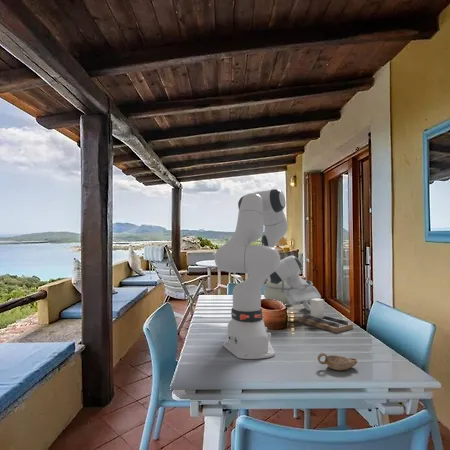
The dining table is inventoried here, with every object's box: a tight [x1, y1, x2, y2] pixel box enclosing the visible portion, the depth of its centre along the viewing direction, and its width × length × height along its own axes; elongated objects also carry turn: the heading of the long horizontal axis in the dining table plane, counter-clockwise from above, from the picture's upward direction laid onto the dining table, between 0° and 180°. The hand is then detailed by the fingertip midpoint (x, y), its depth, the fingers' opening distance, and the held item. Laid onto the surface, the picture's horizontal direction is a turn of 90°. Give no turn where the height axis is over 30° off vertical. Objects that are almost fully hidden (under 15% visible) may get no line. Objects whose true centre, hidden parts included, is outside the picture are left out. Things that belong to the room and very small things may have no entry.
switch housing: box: [298, 313, 354, 334], centre depth 164 cm, size 22×12×4 cm, turn 36°
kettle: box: [263, 280, 291, 306], centre depth 213 cm, size 25×18×25 cm
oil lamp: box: [317, 352, 358, 371], centre depth 114 cm, size 13×8×5 cm, turn 91°
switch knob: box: [310, 298, 325, 319], centre depth 168 cm, size 4×5×9 cm
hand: (312, 309), depth 171 cm, fingers closed
